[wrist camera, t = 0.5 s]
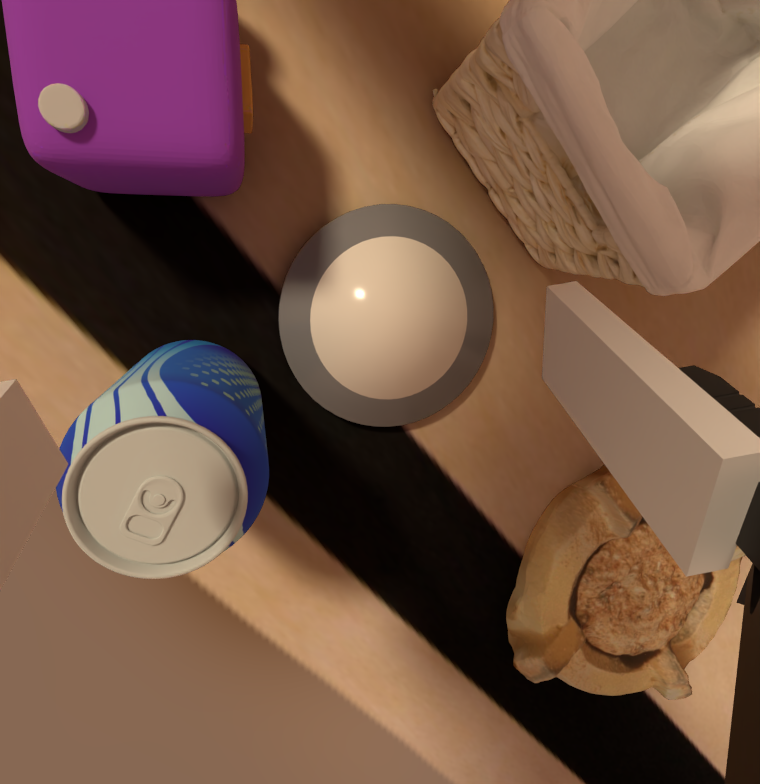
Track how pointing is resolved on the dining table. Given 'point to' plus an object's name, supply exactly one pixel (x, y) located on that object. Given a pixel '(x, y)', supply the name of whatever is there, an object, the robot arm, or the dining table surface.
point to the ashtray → (610, 598)
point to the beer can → (167, 463)
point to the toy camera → (133, 92)
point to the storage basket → (618, 134)
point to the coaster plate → (385, 315)
